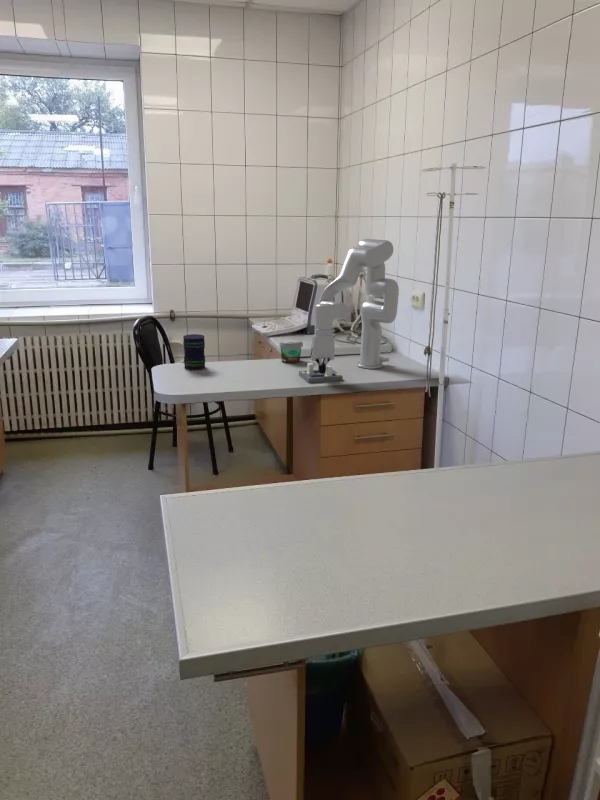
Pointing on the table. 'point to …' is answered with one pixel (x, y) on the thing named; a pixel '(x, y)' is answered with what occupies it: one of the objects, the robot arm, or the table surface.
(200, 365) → the storage jar
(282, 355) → the food container
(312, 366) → the tab
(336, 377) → the switch bank
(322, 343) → the robot arm
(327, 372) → the tab
